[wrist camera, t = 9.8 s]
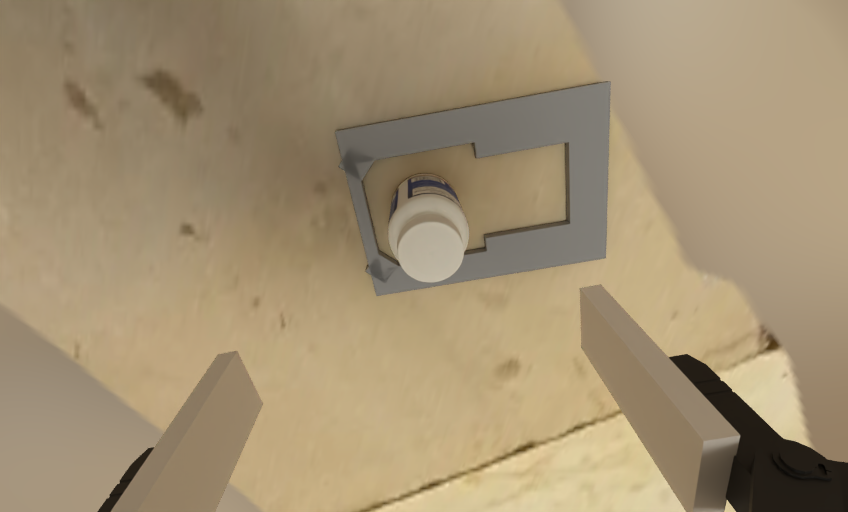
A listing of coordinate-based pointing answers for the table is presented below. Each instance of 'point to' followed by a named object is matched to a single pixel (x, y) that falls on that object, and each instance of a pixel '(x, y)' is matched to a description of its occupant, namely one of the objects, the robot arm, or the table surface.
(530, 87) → the table surface
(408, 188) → the pill bottle
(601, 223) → the keyhole board
